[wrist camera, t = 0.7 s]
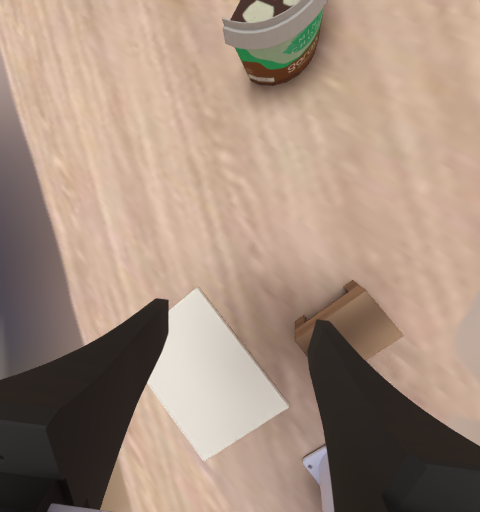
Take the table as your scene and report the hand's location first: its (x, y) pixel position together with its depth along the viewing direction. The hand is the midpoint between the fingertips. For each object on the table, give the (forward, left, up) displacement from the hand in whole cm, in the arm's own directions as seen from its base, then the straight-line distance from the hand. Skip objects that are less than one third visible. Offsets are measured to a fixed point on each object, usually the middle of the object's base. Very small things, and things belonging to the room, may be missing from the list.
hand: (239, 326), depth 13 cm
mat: (-4, +16, -19) cm, 25 cm away
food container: (+18, -17, -19) cm, 31 cm away
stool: (-8, -2, -19) cm, 21 cm away
